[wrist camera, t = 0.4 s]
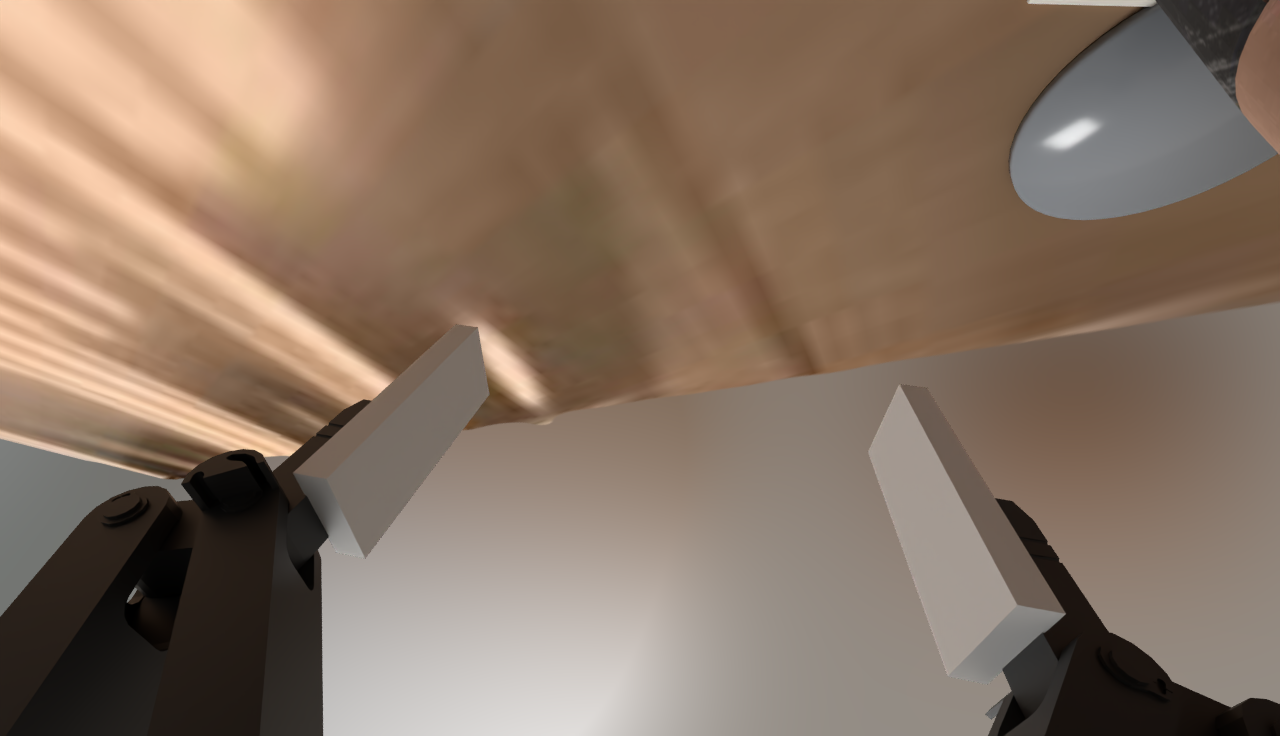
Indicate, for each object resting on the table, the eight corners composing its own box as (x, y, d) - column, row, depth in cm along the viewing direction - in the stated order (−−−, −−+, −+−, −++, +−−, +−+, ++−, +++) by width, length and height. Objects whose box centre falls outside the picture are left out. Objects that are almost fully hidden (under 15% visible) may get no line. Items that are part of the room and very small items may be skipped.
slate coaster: (1144, -54, 14) (1152, -46, 14) (1518, -48, 13) (1535, -40, 13) (961, 203, 23) (963, 211, 23) (1179, 218, 22) (1184, 227, 22)
